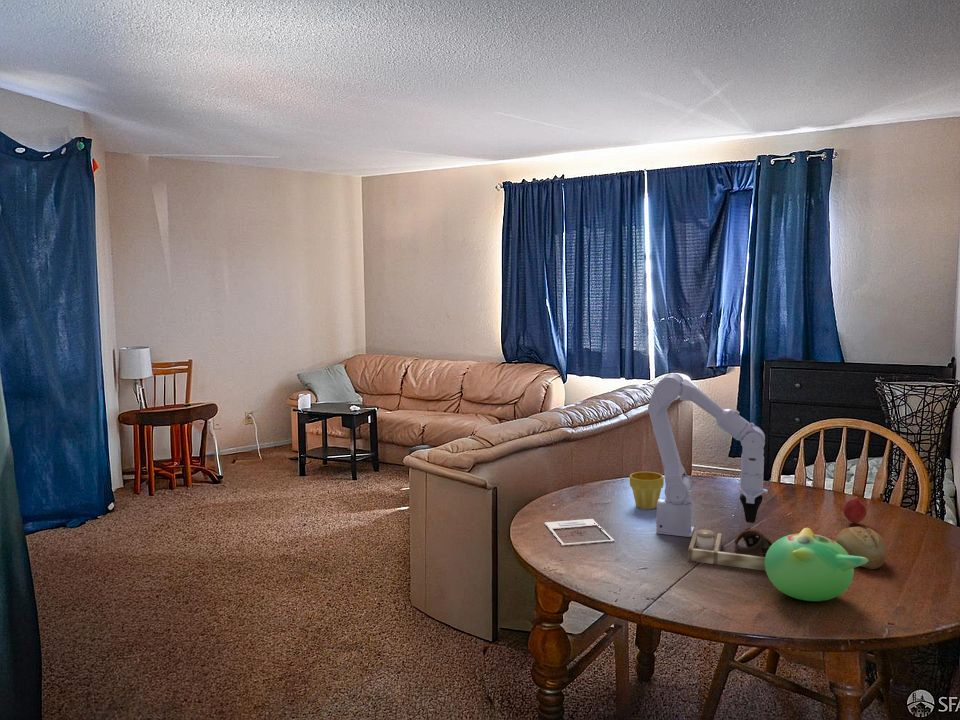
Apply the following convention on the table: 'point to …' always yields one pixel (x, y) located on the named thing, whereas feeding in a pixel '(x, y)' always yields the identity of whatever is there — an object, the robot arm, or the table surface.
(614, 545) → the table surface
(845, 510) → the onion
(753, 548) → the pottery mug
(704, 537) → the cream jar
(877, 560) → the bread roll
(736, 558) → the bracket
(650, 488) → the plant pot
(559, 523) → the photo frame
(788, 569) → the toy bird
